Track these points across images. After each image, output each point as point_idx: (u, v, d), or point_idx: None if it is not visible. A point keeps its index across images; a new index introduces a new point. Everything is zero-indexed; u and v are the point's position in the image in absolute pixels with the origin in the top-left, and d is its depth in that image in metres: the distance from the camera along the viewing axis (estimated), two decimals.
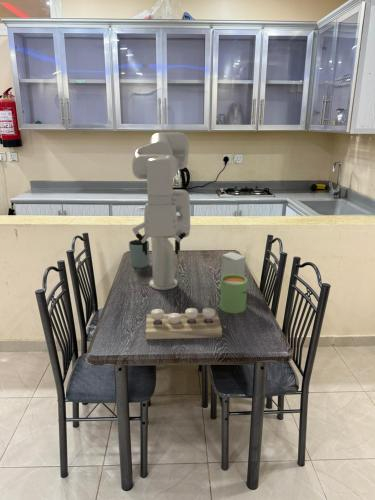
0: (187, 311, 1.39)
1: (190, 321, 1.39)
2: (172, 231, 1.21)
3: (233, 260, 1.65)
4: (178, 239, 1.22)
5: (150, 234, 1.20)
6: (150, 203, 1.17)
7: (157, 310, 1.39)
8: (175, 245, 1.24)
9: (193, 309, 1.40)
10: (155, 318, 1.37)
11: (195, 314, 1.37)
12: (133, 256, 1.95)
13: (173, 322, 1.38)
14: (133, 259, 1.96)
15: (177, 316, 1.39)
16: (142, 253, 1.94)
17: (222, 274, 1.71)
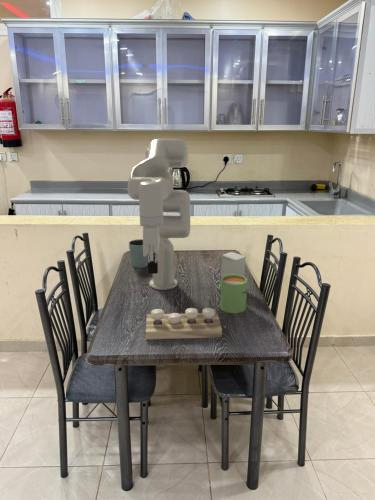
0: (187, 311, 1.39)
1: (190, 321, 1.39)
2: None
3: (233, 260, 1.65)
4: None
5: None
6: (158, 224, 1.25)
7: (157, 310, 1.39)
8: None
9: (193, 309, 1.40)
10: (155, 318, 1.37)
11: (195, 314, 1.37)
12: (133, 256, 1.95)
13: (173, 322, 1.38)
14: (133, 259, 1.96)
15: (177, 316, 1.39)
16: (142, 253, 1.94)
17: (222, 274, 1.71)
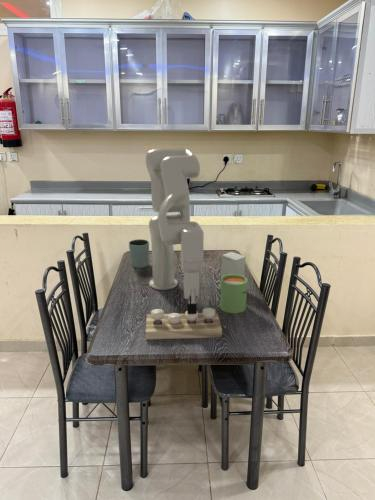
0: (187, 313, 1.39)
1: (190, 323, 1.39)
2: None
3: (233, 260, 1.65)
4: None
5: None
6: (199, 268, 1.30)
7: (157, 310, 1.39)
8: None
9: None
10: (155, 318, 1.37)
11: (195, 316, 1.38)
12: (133, 256, 1.95)
13: (173, 322, 1.38)
14: (133, 259, 1.96)
15: (177, 316, 1.39)
16: (142, 253, 1.94)
17: (222, 274, 1.71)
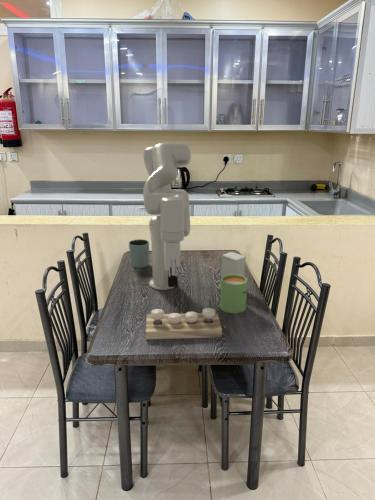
0: (187, 315, 1.39)
1: None
2: None
3: (233, 260, 1.65)
4: None
5: None
6: (179, 239, 1.27)
7: (157, 310, 1.39)
8: None
9: (193, 312, 1.40)
10: (155, 318, 1.37)
11: (195, 318, 1.38)
12: (133, 256, 1.95)
13: (173, 322, 1.38)
14: (133, 259, 1.96)
15: (177, 316, 1.39)
16: (142, 253, 1.94)
17: (222, 274, 1.71)
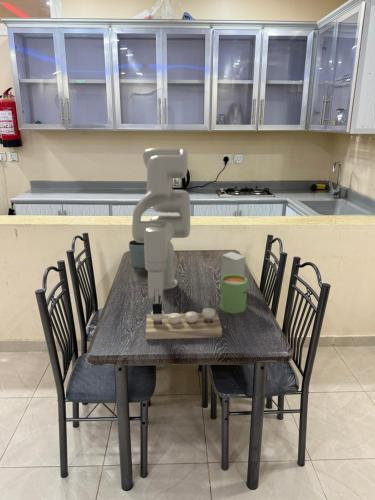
0: (187, 315, 1.39)
1: None
2: None
3: (233, 260, 1.65)
4: None
5: None
6: (162, 268, 1.30)
7: None
8: None
9: (193, 312, 1.40)
10: (155, 319, 1.37)
11: (195, 318, 1.38)
12: (133, 256, 1.95)
13: (173, 322, 1.38)
14: (133, 259, 1.96)
15: (177, 316, 1.39)
16: (142, 253, 1.94)
17: (222, 274, 1.71)
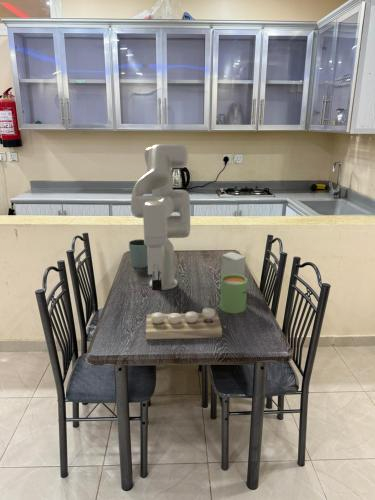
0: (187, 315, 1.39)
1: None
2: None
3: (233, 260, 1.65)
4: None
5: (162, 271, 1.30)
6: (162, 243, 1.27)
7: (157, 313, 1.40)
8: None
9: (193, 312, 1.40)
10: (155, 322, 1.37)
11: (195, 318, 1.38)
12: (133, 256, 1.95)
13: (173, 322, 1.38)
14: (133, 259, 1.96)
15: (177, 316, 1.39)
16: (142, 253, 1.94)
17: (222, 274, 1.71)
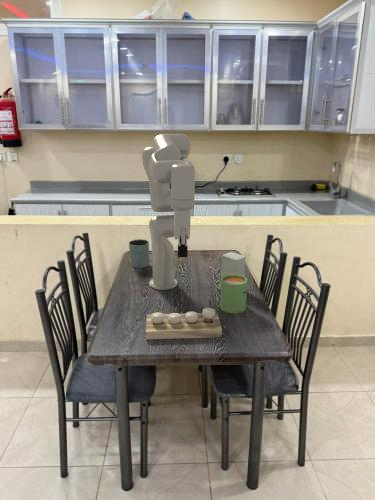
0: (187, 315, 1.39)
1: None
2: None
3: (233, 260, 1.65)
4: None
5: None
6: (190, 207, 1.25)
7: (157, 313, 1.40)
8: None
9: (193, 312, 1.40)
10: (155, 322, 1.37)
11: (195, 318, 1.38)
12: (133, 256, 1.95)
13: (173, 322, 1.38)
14: (133, 259, 1.96)
15: (177, 316, 1.39)
16: (142, 253, 1.94)
17: (222, 274, 1.71)
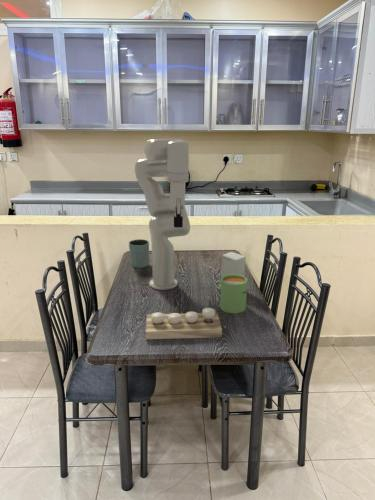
0: (187, 315, 1.39)
1: None
2: None
3: (233, 260, 1.65)
4: None
5: None
6: (184, 180, 1.38)
7: (157, 313, 1.40)
8: None
9: (193, 312, 1.40)
10: (155, 322, 1.37)
11: (195, 318, 1.38)
12: (133, 256, 1.95)
13: (173, 322, 1.38)
14: (133, 259, 1.96)
15: (177, 316, 1.39)
16: (142, 253, 1.94)
17: (222, 274, 1.71)
